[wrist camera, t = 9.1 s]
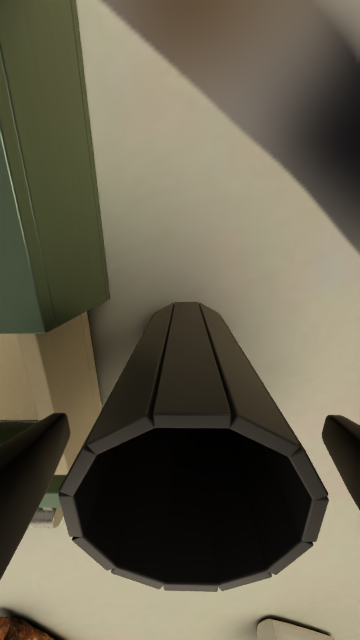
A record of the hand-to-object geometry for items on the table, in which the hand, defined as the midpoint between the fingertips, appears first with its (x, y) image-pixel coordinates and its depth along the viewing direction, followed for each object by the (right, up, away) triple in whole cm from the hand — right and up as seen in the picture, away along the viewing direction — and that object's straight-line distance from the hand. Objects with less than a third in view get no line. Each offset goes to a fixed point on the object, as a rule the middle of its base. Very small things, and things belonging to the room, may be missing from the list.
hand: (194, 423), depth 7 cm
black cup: (0, +2, +7) cm, 7 cm away
